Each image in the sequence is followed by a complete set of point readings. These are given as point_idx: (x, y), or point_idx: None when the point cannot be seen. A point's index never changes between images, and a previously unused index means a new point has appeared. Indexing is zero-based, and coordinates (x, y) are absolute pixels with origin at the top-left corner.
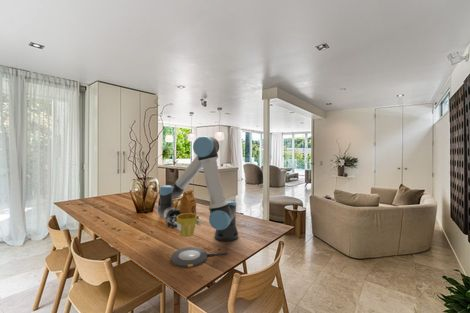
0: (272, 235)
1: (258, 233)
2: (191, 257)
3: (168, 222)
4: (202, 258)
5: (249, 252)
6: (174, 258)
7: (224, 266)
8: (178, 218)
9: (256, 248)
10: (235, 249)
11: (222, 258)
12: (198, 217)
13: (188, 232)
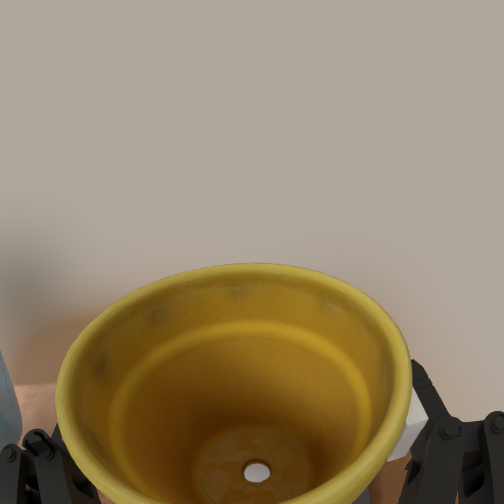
0: None
1: None
2: (262, 473)
3: (501, 412)
4: None
5: (49, 387)
6: (355, 500)
7: None
8: (382, 311)
9: (18, 387)
10: (50, 431)
11: None
12: (16, 451)
13: (265, 398)
